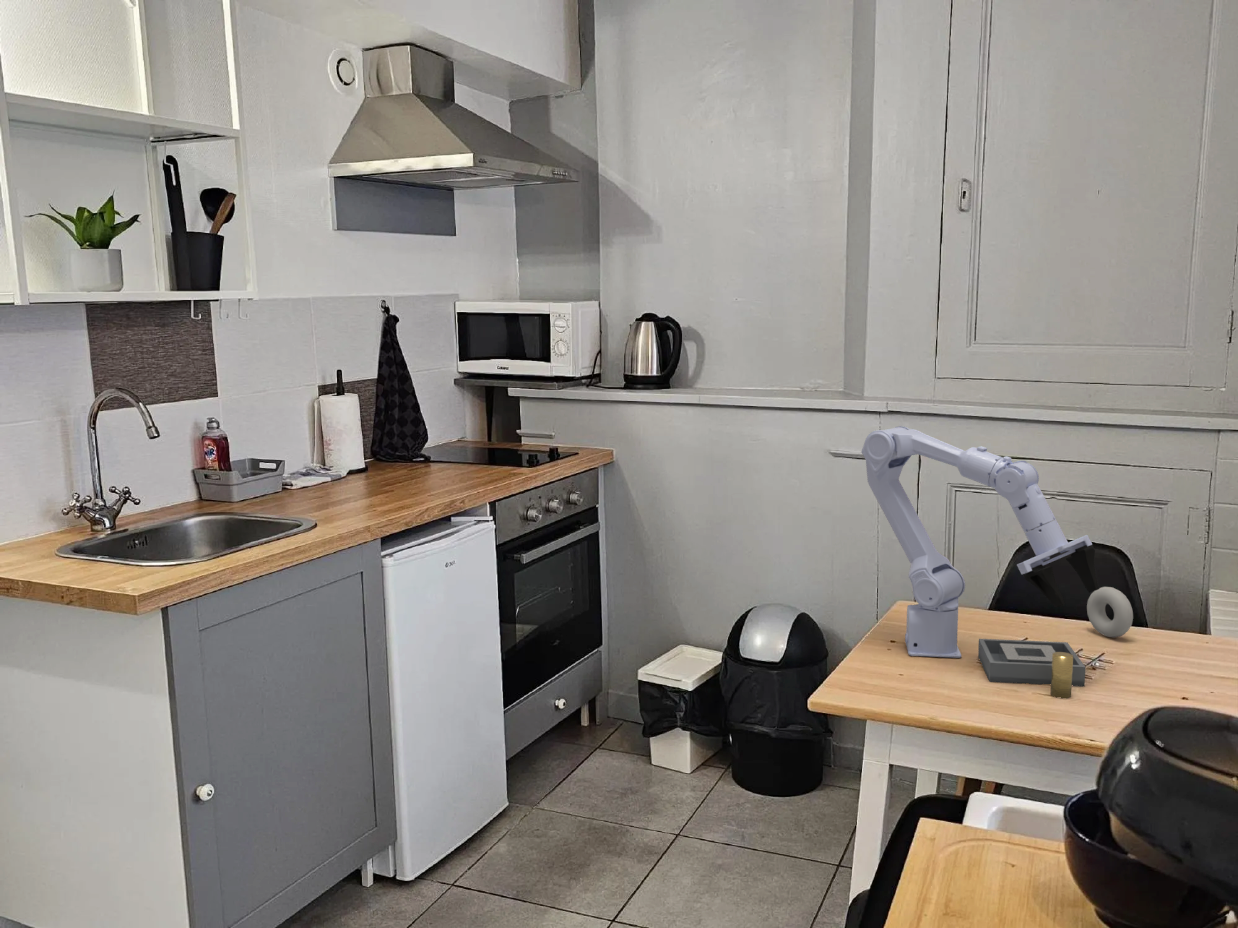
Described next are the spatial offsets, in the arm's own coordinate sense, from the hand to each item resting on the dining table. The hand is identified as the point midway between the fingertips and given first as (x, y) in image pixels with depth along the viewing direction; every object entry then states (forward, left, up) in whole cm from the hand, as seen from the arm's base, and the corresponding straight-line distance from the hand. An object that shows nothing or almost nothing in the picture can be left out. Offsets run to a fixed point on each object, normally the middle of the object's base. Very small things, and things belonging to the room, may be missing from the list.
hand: (1077, 598), depth 182 cm
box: (-6, +5, -15) cm, 17 cm away
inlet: (-6, +5, -15) cm, 17 cm away
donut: (+13, +28, -15) cm, 34 cm away
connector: (-3, -7, -15) cm, 17 cm away
